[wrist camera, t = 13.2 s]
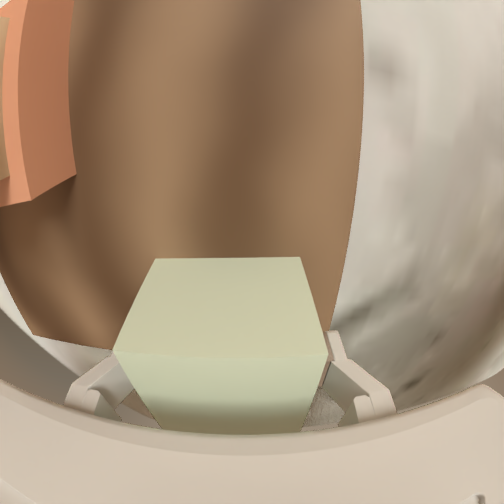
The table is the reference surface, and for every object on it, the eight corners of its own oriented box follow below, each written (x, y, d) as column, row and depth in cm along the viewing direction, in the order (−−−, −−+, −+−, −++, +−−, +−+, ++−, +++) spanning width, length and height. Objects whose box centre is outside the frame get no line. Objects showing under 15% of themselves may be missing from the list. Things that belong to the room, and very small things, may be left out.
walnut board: (340, -49, 5) (350, -62, 4) (317, 335, 16) (322, 354, 14) (-14, 40, 5) (-30, 40, 4) (41, 321, 15) (33, 334, 14)
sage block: (300, 256, 11) (328, 353, 7) (288, 351, 14) (299, 433, 10) (155, 258, 11) (112, 349, 7) (179, 351, 14) (163, 430, 10)
